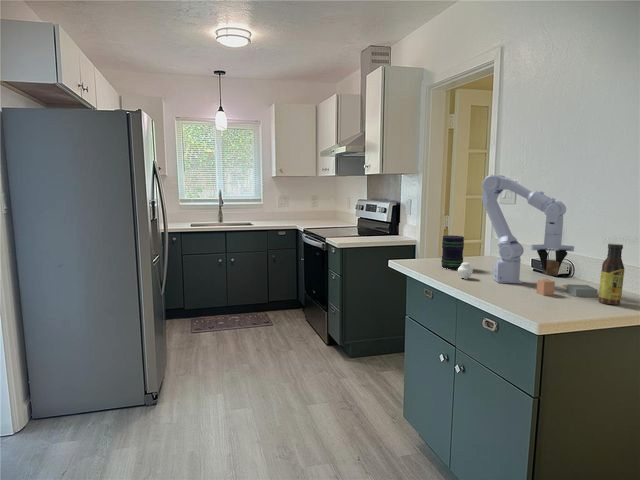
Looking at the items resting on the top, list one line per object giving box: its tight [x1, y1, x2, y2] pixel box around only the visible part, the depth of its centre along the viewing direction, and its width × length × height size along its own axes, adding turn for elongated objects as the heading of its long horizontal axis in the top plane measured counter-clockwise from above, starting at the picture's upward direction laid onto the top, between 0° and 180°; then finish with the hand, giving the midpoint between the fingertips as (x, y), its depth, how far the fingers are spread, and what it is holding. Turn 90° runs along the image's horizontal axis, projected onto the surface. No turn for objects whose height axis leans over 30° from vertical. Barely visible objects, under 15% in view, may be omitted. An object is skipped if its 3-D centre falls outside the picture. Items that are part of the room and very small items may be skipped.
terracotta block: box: [536, 278, 556, 297], centre depth 151 cm, size 4×4×5 cm
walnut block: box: [542, 259, 560, 276], centre depth 160 cm, size 4×4×5 cm
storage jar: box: [440, 235, 465, 269], centre depth 198 cm, size 10×10×15 cm
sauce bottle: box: [598, 243, 625, 306], centre depth 139 cm, size 6×6×20 cm
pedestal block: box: [566, 283, 599, 298], centre depth 152 cm, size 7×7×3 cm
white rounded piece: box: [457, 261, 474, 280], centre depth 177 cm, size 6×6×7 cm
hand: (550, 269), depth 160 cm, fingers closed on walnut block, 4 cm apart
